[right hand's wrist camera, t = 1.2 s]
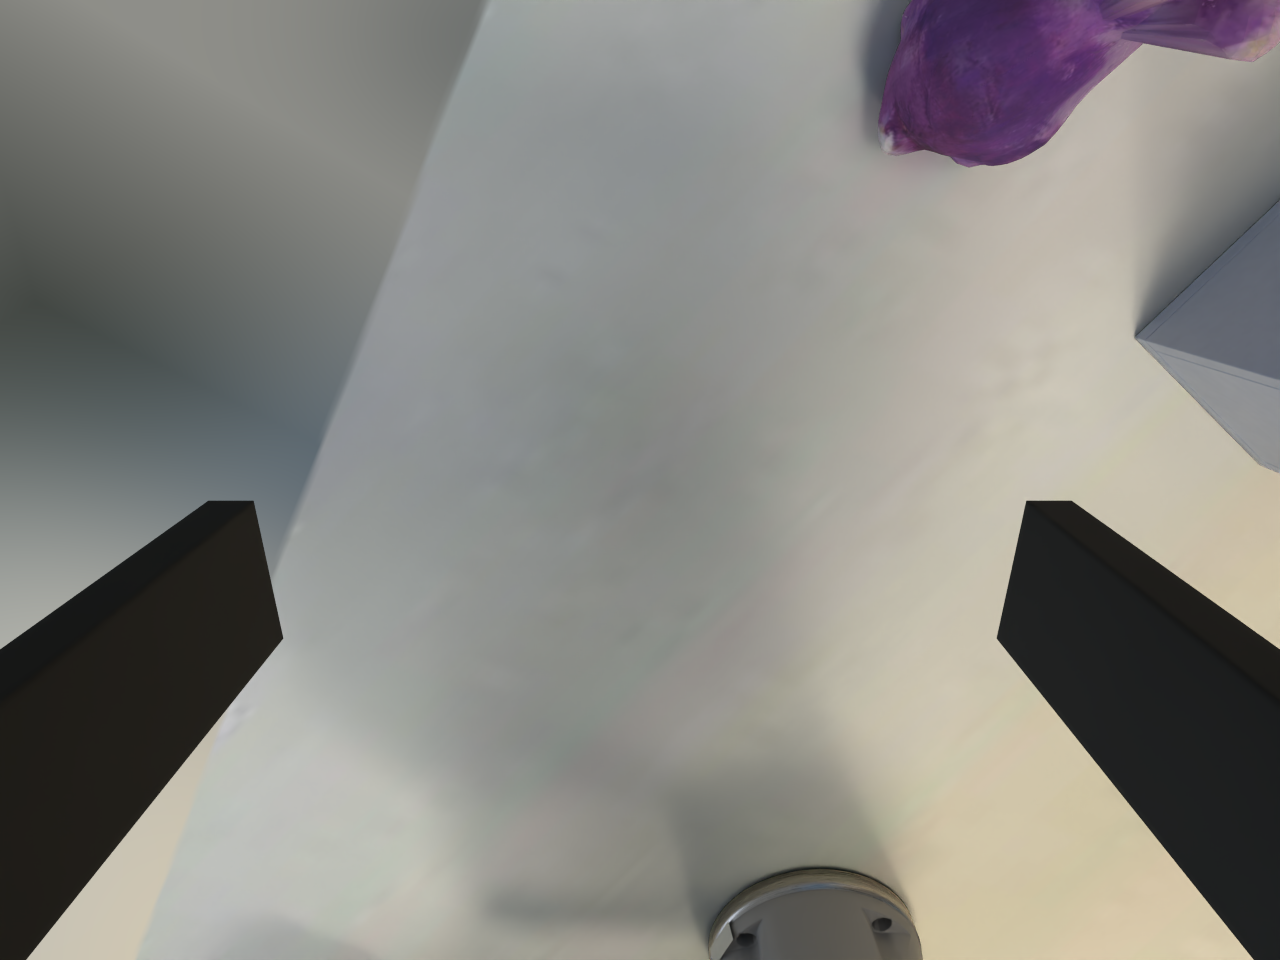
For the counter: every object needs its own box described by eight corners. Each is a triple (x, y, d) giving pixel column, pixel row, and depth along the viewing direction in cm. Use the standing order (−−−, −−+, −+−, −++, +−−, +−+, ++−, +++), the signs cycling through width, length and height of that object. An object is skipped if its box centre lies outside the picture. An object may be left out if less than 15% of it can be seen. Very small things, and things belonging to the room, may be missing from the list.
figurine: (1124, -88, 30) (1535, -324, 16) (1056, 175, 34) (1342, 164, 20) (903, -107, 30) (1128, -362, 16) (859, 160, 34) (1011, 138, 20)
